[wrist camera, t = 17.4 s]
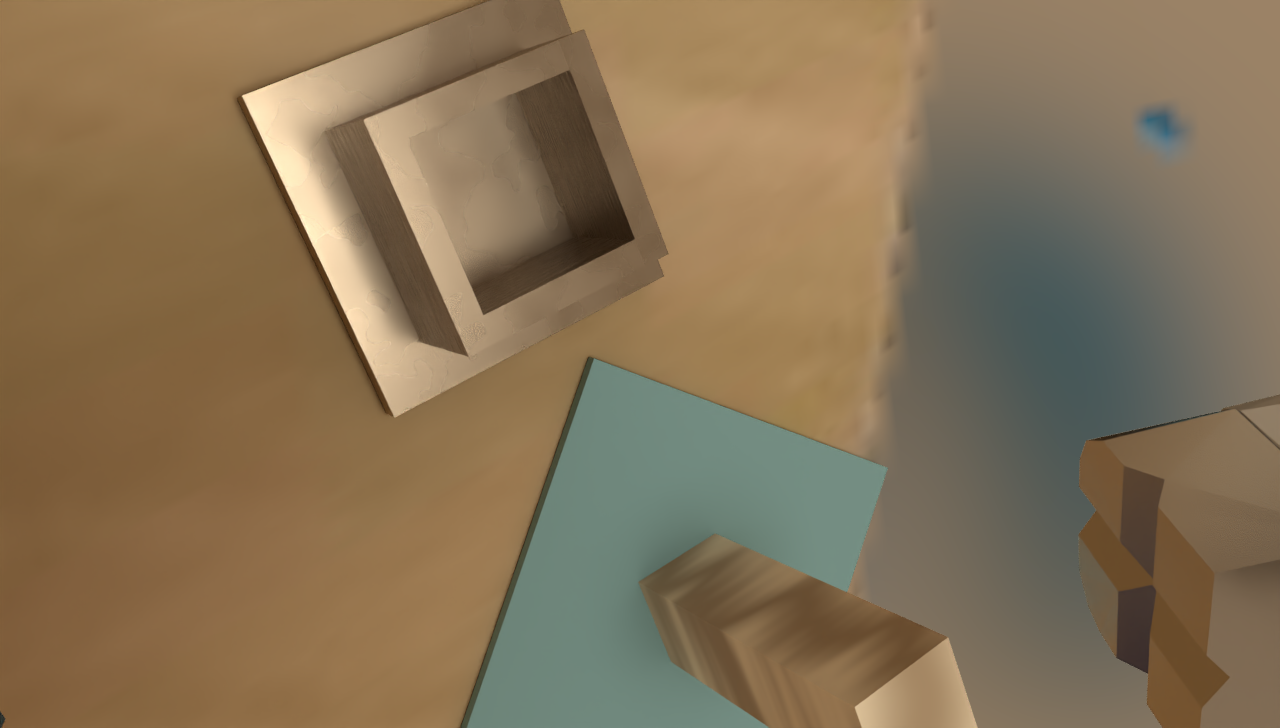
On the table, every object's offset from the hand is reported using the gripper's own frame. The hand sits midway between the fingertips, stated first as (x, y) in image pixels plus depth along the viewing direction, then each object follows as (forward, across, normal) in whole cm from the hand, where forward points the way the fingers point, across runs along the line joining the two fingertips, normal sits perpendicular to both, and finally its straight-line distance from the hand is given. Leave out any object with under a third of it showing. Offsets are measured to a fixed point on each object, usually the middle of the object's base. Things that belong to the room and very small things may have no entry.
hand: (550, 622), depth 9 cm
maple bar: (+31, -2, +28) cm, 41 cm away
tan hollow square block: (+34, +4, +9) cm, 36 cm away
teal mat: (+31, -1, +28) cm, 42 cm away
